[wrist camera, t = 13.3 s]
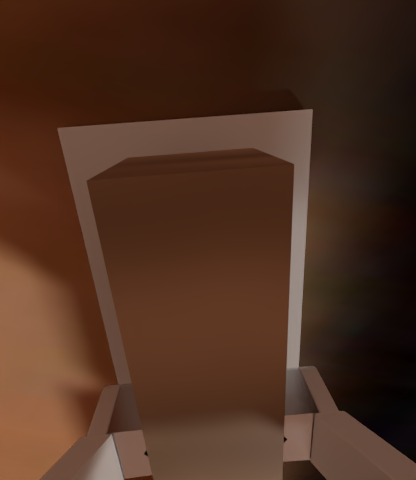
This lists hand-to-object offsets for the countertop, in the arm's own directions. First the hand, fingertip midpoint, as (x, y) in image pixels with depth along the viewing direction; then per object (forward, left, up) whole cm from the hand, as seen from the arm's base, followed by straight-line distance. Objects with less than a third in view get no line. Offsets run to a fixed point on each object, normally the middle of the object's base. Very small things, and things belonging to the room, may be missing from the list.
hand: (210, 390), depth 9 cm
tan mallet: (0, +4, -2) cm, 4 cm away
